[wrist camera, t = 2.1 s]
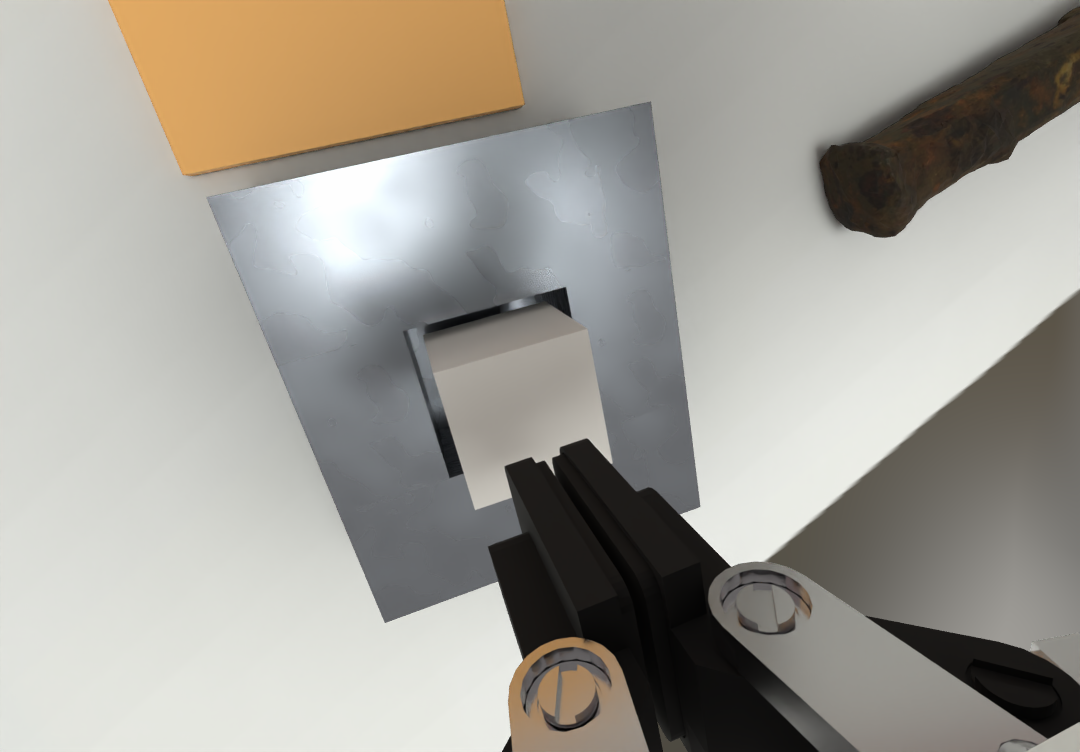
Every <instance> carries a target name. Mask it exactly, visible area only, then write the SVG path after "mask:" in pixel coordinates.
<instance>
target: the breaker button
mask: <svg viewBox="0 0 1080 752" xmlns="http://www.w3.org/2000/svg"><path fill="white" fill-rule="evenodd" d="M423 337H424V341H425V345H426V349H427V352H428V356H429V360H430V364H431V367H432V371H433V375H434V378H435V381H436V385H437V388H438V391H439V394H440V398H441V401H442V404H443V407H444V411H445V414H446V417H447V420H448V424H449V427H450V430H451V433H452V437H453V440H454V443H455V446H456V450H457V453H458V456H459V459H460V463H461V466H462V469H463V473H464V476H465V479H466V482H467V486H468V489H469V492H470V495H471V499H472V502H473V505H474V508H475V510H477V509H480V508H483V507H486V506H489V505H492V504H495V503H498V502H501V501H504V500H506V499H509V498H512V495H511V491H510V488H509V484H508V480H507V477H506V473H505V468H504V466H506V465H509V464H512V463H515V462H518V461H521V460H523V459H526V458H529V457H532V458H533V459H534V461H535V462H536V463H538V462H541V461H544V460H545V462H546V463H547V464H548V466H549V467H550V469H551V470H552V472H553V473H554V468H553V464H552V458H553V457H555V456H558V455H560V450H559V449H560V447H562V446H565V445H568V444H571V443H574V442H576V441H579V440H582V439H585V438H587V439H589V440H590V441H591V442H592V444H593V445H594V446H595V447H596V448H597V449H598V450H599V451H600V452H601V453H602V455H603V456H604V457H605V458H606V459H607V460H608V461H609V462H610V463H611V464H612V463H613V462H612V457H611V451H610V446H609V441H608V435H607V430H606V425H605V419H604V414H603V409H602V403H601V398H600V393H599V387H598V382H597V376H596V371H595V366H594V360H593V355H592V350H591V344H590V339H589V334H588V329H587V328H586V327H584V326H583V325H581V324H579V323H578V322H576V321H575V320H573V319H572V318H570V317H569V316H567V315H565V314H564V313H562V312H561V311H559V310H558V309H556V308H555V307H553V306H552V305H550V304H548V303H547V302H545V301H544V302H540V303H536V304H533V305H529V306H526V307H522V308H518V309H515V310H511V311H508V312H504V313H500V314H497V315H493V316H489V317H486V318H482V319H479V320H475V321H471V322H468V323H464V324H461V325H457V326H453V327H450V328H446V329H443V330H439V331H435V332H432V333H428V334H424V335H423ZM554 475H555V473H554Z"/></svg>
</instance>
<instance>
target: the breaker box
mask: <svg viewBox="0 0 1080 752" xmlns="http://www.w3.org/2000/svg"><path fill="white" fill-rule="evenodd" d="M207 200H208V202H209V205H210V207H211V209H212V212H213V214H214V216H215V219H216V221H217V224H218V226H219V228H220V231H221V233H222V236H223V238H224V240H225V243H226V245H227V247H228V250H229V252H230V255H231V257H232V259H233V262H234V264H235V267H236V269H237V271H238V274H239V276H240V278H241V281H242V283H243V286H244V288H245V290H246V293H247V295H248V298H249V300H250V302H251V305H252V307H253V309H254V312H255V314H256V317H257V319H258V321H259V324H260V326H261V329H262V331H263V333H264V336H265V338H266V340H267V343H268V345H269V348H270V350H271V352H272V355H273V357H274V360H275V362H276V364H277V367H278V369H279V371H280V374H281V376H282V379H283V381H284V383H285V386H286V388H287V391H288V393H289V395H290V398H291V400H292V402H293V405H294V407H295V410H296V412H297V414H298V417H299V419H300V422H301V424H302V426H303V429H304V431H305V433H306V436H307V438H308V441H309V443H310V445H311V448H312V450H313V453H314V455H315V457H316V460H317V462H318V464H319V467H320V469H321V472H322V474H323V476H324V479H325V481H326V484H327V486H328V488H329V491H330V493H331V495H332V498H333V500H334V503H335V505H336V507H337V510H338V512H339V515H340V517H341V519H342V522H343V524H344V526H345V529H346V531H347V534H348V536H349V538H350V541H351V543H352V546H353V548H354V550H355V553H356V555H357V557H358V560H359V562H360V565H361V567H362V569H363V572H364V574H365V577H366V579H367V581H368V584H369V586H370V588H371V591H372V593H373V596H374V598H375V600H376V603H377V605H378V608H379V610H380V612H381V615H382V617H383V619H384V622H385V623H386V622H389V621H392V620H394V619H397V618H400V617H402V616H405V615H408V614H411V613H413V612H416V611H419V610H421V609H424V608H427V607H430V606H432V605H435V604H438V603H440V602H443V601H446V600H449V599H451V598H454V597H457V596H459V595H462V594H465V593H468V592H470V591H473V590H476V589H478V588H481V587H484V586H487V585H489V584H492V583H495V582H497V581H498V579H497V576H496V573H495V569H494V566H493V563H492V559H491V556H490V553H489V549H488V546H490V545H493V544H495V543H498V542H501V541H503V540H506V539H509V538H512V537H514V536H517V535H520V534H522V531H521V528H520V524H519V521H518V517H517V513H516V510H515V506H514V502H513V499H512V498H509V499H506V500H504V501H501V502H498V503H495V504H492V505H489V506H486V507H483V508H480V509H477V510H475V508H474V505H473V502H472V499H471V495H470V492H469V489H468V486H467V482H466V479H465V476H464V473H463V469H462V466H461V463H460V459H459V456H458V453H457V450H456V446H455V443H454V440H453V437H452V433H451V430H450V427H449V424H448V420H447V417H446V414H445V411H444V407H443V404H442V401H441V398H440V394H439V391H438V388H437V385H436V381H435V378H434V375H433V371H432V367H431V364H430V360H429V356H428V352H427V349H426V345H425V341H424V337H423V335H424V334H428V333H432V332H435V331H439V330H443V329H446V328H450V327H453V326H457V325H461V324H464V323H468V322H471V321H475V320H479V319H482V318H486V317H489V316H493V315H497V314H500V313H504V312H508V311H511V310H515V309H518V308H522V307H526V306H529V305H533V304H536V303H540V302H544V301H545V302H547V303H548V304H550V305H552V306H553V307H555V308H556V309H558V310H559V311H561V312H562V313H564V314H565V315H567V316H569V317H570V318H572V319H573V320H575V321H576V322H578V323H579V324H581V325H583V326H584V327H586V328H587V329H588V334H589V339H590V344H591V350H592V355H593V360H594V366H595V371H596V376H597V382H598V387H599V393H600V398H601V403H602V409H603V414H604V419H605V425H606V430H607V435H608V441H609V446H610V451H611V457H612V462H613V463H612V466H613V467H614V468H615V469H616V470H617V471H618V472H619V473H620V474H621V475H622V477H623V478H624V479H625V480H626V481H627V482H628V483H629V484H630V485H631V486H632V488H633V489H634V490H635V491H636V492H637V491H639V490H642V489H645V488H648V487H650V488H653V489H654V490H656V491H657V492H658V493H659V494H660V495H661V496H662V497H663V498H664V499H665V500H666V501H667V502H668V503H669V504H670V505H671V506H672V507H673V508H674V509H675V510H676V511H677V512H678V513H679V514H682V513H685V512H688V511H690V510H693V509H696V508H698V507H700V500H699V492H698V484H697V476H696V468H695V459H694V451H693V443H692V435H691V427H690V418H689V410H688V402H687V394H686V386H685V377H684V369H683V361H682V353H681V345H680V336H679V328H678V320H677V312H676V304H675V296H674V287H673V279H672V271H671V263H670V255H669V246H668V238H667V230H666V222H665V214H664V205H663V197H662V189H661V181H660V173H659V165H658V156H657V148H656V140H655V132H654V124H653V115H652V107H651V102H647V103H642V104H638V105H633V106H628V107H624V108H619V109H614V110H610V111H605V112H601V113H596V114H591V115H587V116H582V117H577V118H573V119H568V120H563V121H559V122H554V123H549V124H545V125H540V126H535V127H531V128H526V129H522V130H517V131H512V132H508V133H503V134H498V135H494V136H489V137H484V138H480V139H475V140H470V141H466V142H461V143H456V144H452V145H447V146H443V147H438V148H433V149H429V150H424V151H419V152H415V153H410V154H405V155H401V156H396V157H391V158H387V159H382V160H378V161H373V162H368V163H364V164H359V165H354V166H350V167H345V168H340V169H336V170H331V171H326V172H322V173H317V174H312V175H308V176H303V177H299V178H294V179H289V180H285V181H280V182H275V183H271V184H266V185H261V186H257V187H252V188H247V189H243V190H238V191H233V192H229V193H224V194H220V195H215V196H210V197H207Z"/></svg>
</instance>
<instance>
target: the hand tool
mask: <svg viewBox="0 0 1080 752" xmlns="http://www.w3.org/2000/svg"><path fill="white" fill-rule="evenodd" d="M1079 102H1080V7H1078V8H1075V9H1073V10H1072V11H1070V12H1069V13H1067V14H1066V15H1064V16H1063V17H1062V18H1061V19H1060V20H1059V22H1058V26H1057V27H1055V28H1053V29H1052V30H1050V31H1048V32H1046V33H1045V34H1043V35H1041V36H1039V37H1037V38H1035V39H1034V40H1032V41H1030V42H1029V43H1027V44H1025V45H1024V46H1022V47H1020V48H1019V49H1017V50H1015V51H1013V52H1011V53H1009V54H1007V55H1005V56H1003V57H1001V58H999V59H998V60H996V61H994V62H993V63H991V64H990V65H989V66H988V67H987V68H985V69H984V70H982V71H981V72H979V73H977V74H976V75H974V76H972V77H970V78H968V79H967V80H965V81H964V82H962V83H961V84H959V85H956V86H953V87H951V88H950V89H948V90H947V91H945V92H943V93H941V94H939V95H937V96H935V97H933V98H932V99H930V100H928V101H926V102H924V103H922V104H920V105H919V106H918V107H917V108H916V109H915V110H914V111H913V112H911V113H909V114H907V115H906V116H904V117H903V118H902V119H900V120H899V121H898V122H897V123H895V124H893V125H891V126H890V127H888V128H886V129H885V130H883V131H882V132H880V133H879V134H877V135H876V136H874V137H872V138H870V139H868V140H866V141H864V142H859V143H848V144H844V145H841V146H836V145H831V146H830V148H829V149H828V151H827V152H826V153H825V155H824V156H823V157H822V159H821V161H820V169H821V172H822V175H823V180H824V188H825V193H826V197H827V199H828V202H829V205H830V208H831V210H832V211H833V213H834V215H835V217H836V219H837V220H838V221H839V222H840V223H841V224H842V225H843V226H844V227H846V228H848V229H850V230H852V231H859V232H864V233H867V234H870V235H872V236H874V237H882V238H887V237H893V236H896V235H897V234H898V233H899V232H901V231H902V230H903V229H904V228H905V227H906V225H907V224H908V223H909V222H910V221H911V220H912V218H913V217H914V215H915V214H916V212H917V210H918V209H920V208H921V207H922V206H923V205H924V204H925V203H926V201H927V200H929V199H930V198H932V197H933V196H935V195H937V194H938V193H940V192H942V191H943V190H945V189H946V188H948V187H949V186H951V185H952V184H954V183H955V182H957V181H958V180H959V179H960V178H962V177H963V176H965V175H966V174H968V173H970V172H973V171H975V170H976V169H979V168H981V167H983V166H985V165H987V164H994V163H999V162H1002V161H1004V160H1008V159H1009V157H1010V156H1011V154H1012V152H1013V150H1014V148H1015V147H1016V145H1017V143H1018V142H1019V141H1020V140H1022V139H1024V138H1025V137H1027V136H1029V135H1030V134H1031V133H1032V132H1034V131H1035V130H1037V129H1038V128H1040V127H1042V126H1043V125H1044V124H1046V123H1047V122H1049V121H1050V120H1052V119H1054V118H1055V117H1057V116H1059V115H1060V114H1062V113H1064V112H1065V111H1067V110H1068V109H1069V108H1071V107H1072V106H1074V105H1075V104H1077V103H1079Z"/></svg>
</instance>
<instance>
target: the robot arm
mask: <svg viewBox="0 0 1080 752" xmlns="http://www.w3.org/2000/svg"><path fill="white" fill-rule="evenodd" d="M559 450H560V455H558V456H555V457H553V458H552V464H553V468H554V473H555V475H554V473H553V472H552V470H551V469H550V467H549V466H548V464H547V463H546V462H545V460H544V461H541V462H538V463H536V462H535V461H534V459H533V458H532V457H529V458H526V459H523V460H521V461H518V462H515V463H512V464H509V465H506V466H504V468H505V473H506V477H507V480H508V484H509V488H510V491H511V495H512V499H513V502H514V506H515V510H516V513H517V517H518V521H519V524H520V528H521V531H522V534H520V535H517V536H514V537H512V538H509V539H506V540H503V541H501V542H498V543H495V544H493V545H490V546H488V549H489V553H490V556H491V559H492V563H493V566H494V569H495V573H496V576H497V579H498V582H499V586H500V589H501V592H502V595H503V598H504V602H505V605H506V608H507V611H508V614H509V618H510V621H511V624H512V627H513V630H514V633H515V636H516V639H517V643H518V646H519V649H520V652H521V655H522V658H523V662H522V663H521V664H520V665H519V667H518V668H517V669H516V671H515V673H514V676H513V678H512V681H511V683H510V686H509V698H508V706H509V717H510V728H511V736H510V738H509V740H508V742H507V743H506V745H505V747H504V749H503V751H502V752H663V750H662V744H661V739H660V734H659V728H658V724H657V722H658V723H659V725H660V727H661V729H662V731H663V733H664V734H665V736H666V737H667V739H668V740H669V741H673V740H675V739H678V738H680V739H681V741H682V742H683V744H684V746H685V748H686V749H687V751H688V752H1080V632H1079V633H1074V634H1069V635H1065V636H1059V637H1054V638H1048V639H1043V640H1038V641H1033V642H1032V644H1031V650H1030V652H1028V651H1026V650H1024V649H1022V648H1018V647H1014V646H1011V645H1008V644H1004V643H1000V642H996V641H991V640H986V639H981V638H976V637H971V636H966V635H960V634H955V633H950V632H945V631H940V630H935V629H930V628H925V627H919V626H914V625H909V624H904V623H899V622H894V621H888V620H884V619H879V618H873V617H868V616H864V615H862V614H861V613H859V612H858V611H856V610H855V609H853V608H852V607H850V606H848V605H847V604H846V603H844V602H843V601H841V600H840V599H838V598H837V597H835V596H834V595H832V594H831V593H829V592H828V591H827V590H825V589H823V588H822V587H821V586H819V585H818V584H816V583H815V582H813V581H812V580H810V579H809V578H807V577H806V576H804V575H802V574H800V573H798V572H797V571H795V570H793V569H791V568H789V567H785V566H782V565H778V564H774V563H767V562H749V563H742V564H738V565H735V566H733V567H731V566H730V565H729V564H728V563H727V562H726V561H725V560H724V559H723V558H722V557H721V556H720V555H719V554H718V553H717V552H716V551H715V550H714V549H713V548H712V547H711V546H710V545H709V544H708V543H707V542H706V541H705V540H704V539H703V538H702V537H701V536H700V535H699V534H698V533H697V532H696V531H695V530H694V529H693V528H692V527H691V526H690V525H689V524H688V523H687V522H686V521H685V520H684V519H683V518H682V517H681V516H680V515H679V513H678V512H677V511H676V510H675V509H674V508H673V507H672V506H671V505H670V504H669V503H668V502H667V501H666V500H665V499H664V498H663V497H662V496H661V495H660V494H659V493H658V492H657V491H656V490H654V489H653V488H650V487H648V488H645V489H642V490H639V491H637V492H636V491H635V490H634V489H633V488H632V486H631V485H630V484H629V483H628V482H627V481H626V480H625V479H624V478H623V477H622V475H621V474H620V473H619V472H618V471H617V470H616V469H615V468H614V467H613V466H612V464H611V463H610V462H609V461H608V460H607V459H606V458H605V457H604V456H603V455H602V453H601V452H600V451H599V450H598V449H597V448H596V447H595V446H594V445H593V444H592V442H591V441H590V440H589V439H587V438H585V439H582V440H579V441H576V442H574V443H571V444H568V445H565V446H562V447H560V449H559Z"/></svg>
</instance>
